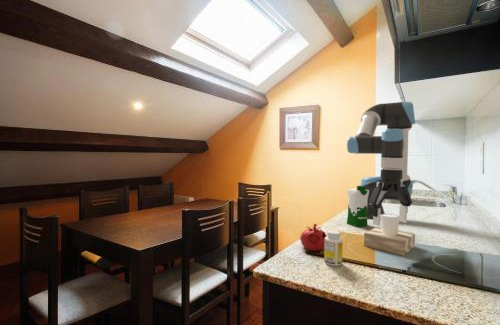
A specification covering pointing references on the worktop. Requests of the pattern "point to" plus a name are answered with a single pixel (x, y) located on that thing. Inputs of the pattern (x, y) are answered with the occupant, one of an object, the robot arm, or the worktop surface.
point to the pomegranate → (313, 239)
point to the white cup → (389, 224)
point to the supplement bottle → (333, 248)
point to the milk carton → (357, 206)
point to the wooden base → (389, 241)
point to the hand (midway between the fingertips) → (389, 223)
